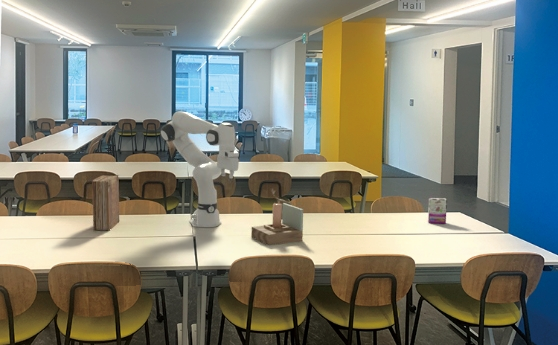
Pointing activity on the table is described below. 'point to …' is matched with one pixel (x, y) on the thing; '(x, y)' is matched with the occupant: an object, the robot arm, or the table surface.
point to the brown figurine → (279, 200)
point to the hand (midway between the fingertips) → (227, 177)
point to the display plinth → (282, 228)
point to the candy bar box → (437, 210)
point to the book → (105, 202)
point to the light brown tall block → (277, 215)
